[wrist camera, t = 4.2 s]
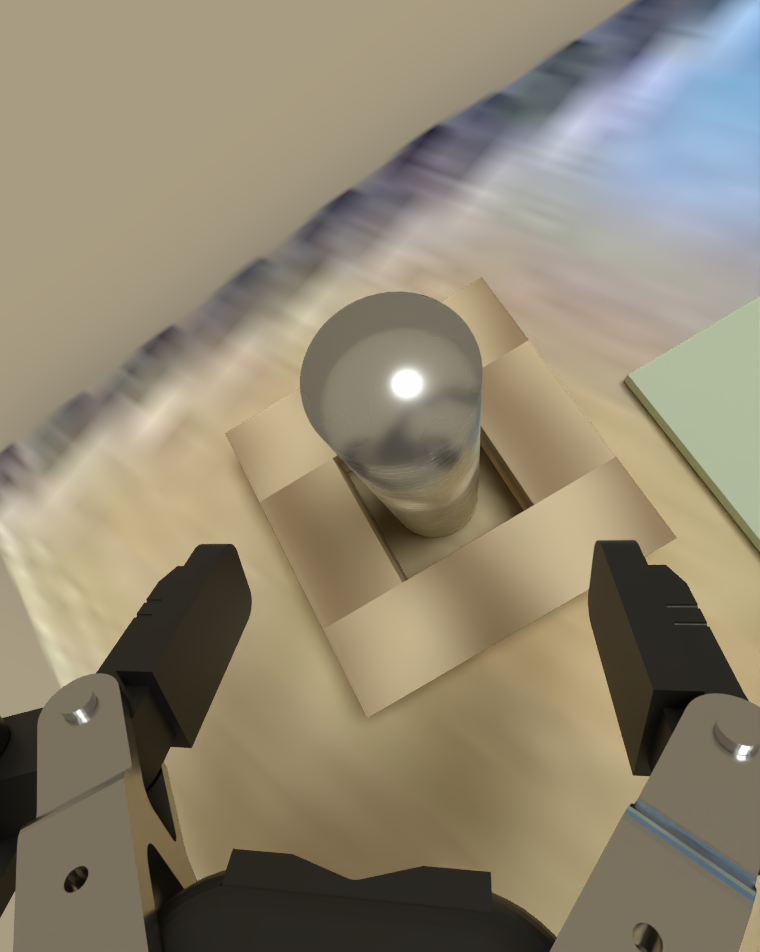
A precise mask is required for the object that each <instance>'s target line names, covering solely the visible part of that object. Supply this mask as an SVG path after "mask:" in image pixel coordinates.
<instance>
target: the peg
mask: <svg viewBox="0 0 760 952" xmlns="http://www.w3.org/2000/svg"><path fill="white" fill-rule="evenodd" d="M482 374H483V367H482V358H481V354H480V350H479V346H478V344H477V341H476V339H475V337H474V335H473V333H472V332H471V330H470V328H469V327H468V325H467V324H466V323H465V322H464V320H463V319H462V318H461V317H460V316H459V315H458V314H457V313H455V312H454V311H453V310H452V309H450V308H449V307H448V306H446V305H445V304H443V303H441V302H439V301H437V300H435V299H433V298H430V297H427V296H424V295H420V294H416V293H409V292H386V293H380V294H375V295H371V296H368V297H365V298H362V299H360V300H357V301H355V302H353V303H351V304H349V305H348V306H346V307H344V308H343V309H341V310H340V311H338V312H337V313H336V314H335V315H333V316H332V317H331V318H330V319H329V320H328V321H327V322H326V323H325V324H324V325H323V326H322V327H321V328H320V330H319V331H318V333H317V334H316V335H315V337H314V338H313V340H312V342H311V344H310V345H309V347H308V350H307V352H306V355H305V357H304V360H303V364H302V369H301V376H300V393H301V399H302V404H303V407H304V410H305V413H306V415H307V417H308V420H309V422H310V423H311V425H312V426H313V428H314V429H315V431H316V432H317V433H318V435H319V436H320V437H321V438H322V439H323V440H324V441H325V442H326V443H327V444H328V445H329V447H330V448H331V449H332V450H333V451H334V452H335V453H336V454H337V455H338V456H339V457H340V458H341V459H342V460H343V461H344V462H345V463H346V465H347V466H348V467H349V468H350V469H351V470H352V471H353V472H354V473H355V474H356V475H357V476H358V477H359V478H360V479H361V480H362V481H363V483H364V484H365V485H366V486H367V487H368V488H369V489H370V490H371V491H372V492H373V493H374V494H375V495H376V496H377V497H378V498H379V499H380V501H381V502H382V503H383V504H384V505H385V506H386V507H387V508H388V509H389V510H390V511H391V512H392V513H393V514H394V515H395V516H396V517H397V519H398V520H399V521H400V522H401V523H402V524H403V525H404V526H405V527H407V528H408V529H409V530H411V531H412V532H414V533H416V534H419V535H422V536H426V537H442V536H447V535H449V534H452V533H454V532H456V531H458V530H459V529H461V528H462V527H463V526H464V525H465V524H466V523H467V522H468V521H469V520H470V518H471V517H472V515H473V513H474V511H475V509H476V506H477V501H478V484H479V457H480V429H481V402H482Z"/></svg>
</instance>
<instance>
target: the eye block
mask: <svg viewBox="0 0 760 952" xmlns="http://www.w3.org/2000/svg"><path fill="white" fill-rule="evenodd" d="M441 303H443V304H445V305H446V306H448V307H449V308H450V309H452V310H453V311H454V312H455V313H457V314H458V315H459V316H460V317H461V318H462V319H463V320H464V322H465V323H466V324H467V325H468V327H469V328H470V330H471V332H472V333H473V335H474V337H475V339H476V341H477V344H478V346H479V350H480V354H481V358H482V367H483V374H482V402H481V429H480V445H481V447H482V448H483V450H484V451H485V453H486V454H487V456H488V457H489V459H490V460H491V462H492V463H493V465H494V466H495V468H496V469H497V471H498V472H499V474H500V475H501V477H502V478H503V480H504V481H505V483H506V484H507V486H508V487H509V489H510V490H511V492H512V493H513V495H514V496H515V498H516V499H517V501H518V502H519V504H520V505H521V507H522V509H523V510H524V511H523V512H521V513H520V514H518V515H516V516H515V517H513V518H511V519H510V520H508V521H506V522H504V523H503V524H501V525H499V526H498V527H496V528H494V529H493V530H491V531H489V532H488V533H486V534H484V535H482V536H481V537H479V538H477V539H476V540H474V541H472V542H471V543H469V544H467V545H465V546H464V547H462V548H460V549H459V550H457V551H455V552H454V553H452V554H450V555H449V556H447V557H445V558H443V559H442V560H440V561H438V562H437V563H435V564H433V565H432V566H430V567H428V568H427V569H425V570H423V571H421V572H420V573H418V574H416V575H415V576H413V577H411V578H410V579H407V578H406V576H405V574H404V572H403V570H402V569H401V567H400V565H399V563H398V562H397V560H396V558H395V556H394V555H393V553H392V551H391V549H390V547H389V546H388V544H387V542H386V540H385V539H384V537H383V535H382V533H381V532H380V530H379V528H378V526H377V524H376V523H375V521H374V519H373V517H372V516H371V514H370V512H369V510H368V509H367V507H366V505H365V503H364V502H363V500H362V498H361V496H360V494H359V493H358V491H357V489H356V487H355V486H354V484H353V482H352V480H351V479H350V477H349V475H348V473H349V472H350V471H352V470H351V469H350V468H349V467H348V466H347V465H346V463H345V462H344V461H343V460H342V459H341V458H340V457H339V456H338V455H337V454H336V453H335V452H334V451H333V450H332V449H331V448H330V447H329V445H328V444H327V443H326V442H325V441H324V440H323V439H322V438H321V437H320V436H319V435H318V433H317V432H316V431H315V429H314V428H313V426H312V425H311V423H310V422H309V420H308V417H307V415H306V413H305V410H304V407H303V404H302V399H301V393H300V388H299V389H297V390H296V391H294V392H292V393H291V394H289V395H287V396H286V397H284V398H282V399H281V400H279V401H278V402H276V403H274V404H273V405H271V406H269V407H268V408H266V409H264V410H263V411H261V412H259V413H258V414H256V415H255V416H253V417H251V418H250V419H248V420H246V421H245V422H243V423H241V424H240V425H238V426H236V427H235V428H233V429H232V430H230V431H228V432H227V433H225V434H226V436H227V438H228V440H229V442H230V444H231V446H232V448H233V450H234V452H235V454H236V456H237V458H238V460H239V462H240V464H241V466H242V468H243V470H244V472H245V474H246V476H247V478H248V480H249V482H250V484H251V486H252V488H253V490H254V492H255V494H256V496H257V498H258V500H259V502H260V504H261V506H262V508H263V510H264V512H265V514H266V516H267V518H268V520H269V522H270V524H271V526H272V528H273V530H274V532H275V534H276V536H277V538H278V540H279V542H280V544H281V546H282V548H283V550H284V552H285V554H286V556H287V558H288V560H289V562H290V564H291V566H292V568H293V570H294V572H295V574H296V576H297V578H298V580H299V582H300V584H301V586H302V588H303V590H304V592H305V594H306V596H307V598H308V600H309V602H310V604H311V606H312V608H313V610H314V612H315V614H316V616H317V618H318V620H319V622H320V624H321V626H322V628H323V631H324V633H325V635H326V637H327V639H328V641H329V643H330V645H331V647H332V649H333V651H334V653H335V655H336V657H337V659H338V661H339V663H340V665H341V667H342V669H343V671H344V673H345V675H346V677H347V679H348V681H349V683H350V685H351V687H352V689H353V691H354V693H355V695H356V697H357V699H358V701H359V703H360V705H361V707H362V709H363V711H364V713H365V715H366V717H367V718H368V717H370V716H372V715H373V714H375V713H377V712H378V711H380V710H382V709H384V708H385V707H387V706H389V705H390V704H392V703H394V702H396V701H397V700H399V699H401V698H403V697H404V696H406V695H408V694H409V693H411V692H413V691H415V690H416V689H418V688H420V687H421V686H423V685H425V684H427V683H428V682H430V681H432V680H433V679H435V678H437V677H439V676H440V675H442V674H444V673H445V672H447V671H449V670H451V669H452V668H454V667H456V666H458V665H459V664H461V663H463V662H464V661H466V660H468V659H470V658H471V657H473V656H475V655H476V654H478V653H480V652H482V651H483V650H485V649H487V648H488V647H490V646H492V645H494V644H495V643H497V642H499V641H500V640H502V639H504V638H506V637H507V636H509V635H511V634H513V633H514V632H516V631H518V630H519V629H521V628H523V627H525V626H526V625H528V624H530V623H531V622H533V621H535V620H537V619H538V618H540V617H542V616H543V615H545V614H547V613H549V612H550V611H552V610H554V609H555V608H557V607H559V606H561V605H562V604H564V603H566V602H568V601H569V600H571V599H573V598H574V597H576V596H578V595H580V594H581V593H583V592H585V591H586V590H588V589H589V585H590V577H591V568H592V560H593V552H594V545H595V542H596V541H597V540H636V541H637V543H638V544H639V546H640V548H641V551H642V553H643V555H644V557H645V556H647V555H648V554H650V553H652V552H653V551H655V550H657V549H659V548H660V547H662V546H664V545H665V544H667V543H669V542H671V541H672V540H674V539H676V538H677V537H676V536H675V535H674V533H673V532H672V531H671V529H670V528H669V527H668V525H667V524H666V523H665V521H664V520H663V519H662V517H661V516H660V515H659V513H658V512H657V511H656V509H655V508H654V507H653V505H652V504H651V503H650V501H649V500H648V499H647V497H646V496H645V495H644V493H643V492H642V491H641V489H640V488H639V487H638V485H637V484H636V483H635V481H634V480H633V479H632V477H631V476H630V475H629V473H628V472H627V471H626V469H625V468H624V467H623V465H622V464H621V463H620V461H619V460H618V459H617V457H616V456H615V455H614V453H613V452H612V451H611V449H610V448H609V446H608V445H607V444H606V442H605V441H604V440H603V438H602V437H601V436H600V434H599V433H598V432H597V430H596V429H595V428H594V426H593V425H592V424H591V422H590V421H589V420H588V418H587V417H586V416H585V414H584V413H583V412H582V410H581V409H580V408H579V406H578V405H577V404H576V402H575V401H574V400H573V398H572V397H571V396H570V394H569V393H568V392H567V390H566V389H565V388H564V386H563V385H562V384H561V382H560V381H559V380H558V378H557V377H556V376H555V374H554V373H553V372H552V370H551V369H550V368H549V366H548V365H547V364H546V362H545V361H544V360H543V358H542V357H541V356H540V354H539V353H538V352H537V350H536V349H535V348H534V346H533V345H532V344H531V342H530V341H529V340H528V338H527V337H526V336H525V334H524V333H523V332H522V330H521V329H520V328H519V326H518V325H517V323H516V322H515V321H514V319H513V318H512V317H511V315H510V314H509V313H508V311H507V310H506V309H505V307H504V306H503V305H502V303H501V302H500V301H499V299H498V298H497V297H496V295H495V294H494V293H493V291H492V290H491V289H490V287H489V286H488V285H487V283H486V282H485V281H484V279H483V278H482V277H481V278H480V279H478V280H476V281H475V282H473V283H471V284H470V285H468V286H466V287H465V288H463V289H462V290H460V291H458V292H457V293H455V294H453V295H452V296H450V297H448V298H447V299H445V300H443V301H442V302H441Z"/></svg>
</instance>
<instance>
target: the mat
mask: <svg viewBox="0 0 760 952" xmlns="http://www.w3.org/2000/svg"><path fill="white" fill-rule="evenodd" d="M624 381H625V383H626V384H627V385H628V387H629V388H630V389H631V390H632V392H633V393H634V394H635V395H636V397H637V398H638V399H639V400H640V402H641V403H642V404H643V405H644V407H645V408H646V409H647V411H648V412H649V413H650V414H651V416H652V417H653V418H654V419H655V421H656V422H657V423H658V424H659V426H660V427H661V428H662V429H663V431H664V432H665V433H666V434H667V436H668V437H669V438H670V440H671V441H672V442H673V443H674V445H675V446H676V447H677V448H678V450H679V451H680V452H681V453H682V455H683V456H684V457H685V458H686V460H687V461H688V462H689V464H690V465H691V466H692V467H693V469H694V470H695V471H696V472H697V474H698V475H699V476H700V477H701V479H702V480H703V481H704V482H705V484H706V485H707V486H708V487H709V489H710V490H711V491H712V493H713V494H714V495H715V496H716V498H717V499H718V500H719V501H720V503H721V504H722V505H723V506H724V508H725V509H726V510H727V511H728V513H729V514H730V515H731V517H732V518H733V519H734V520H735V522H736V523H737V524H738V525H739V527H740V528H741V529H742V530H743V532H744V533H745V534H746V535H747V537H748V538H749V539H750V540H751V542H752V543H753V544H754V546H755V547H756V548H757V549H758V551H759V552H760V296H759V297H758V298H756V299H754V300H752V301H751V302H749V303H747V304H746V305H744V306H742V307H741V308H739V309H737V310H736V311H734V312H732V313H731V314H729V315H727V316H726V317H724V318H722V319H721V320H719V321H717V322H716V323H714V324H712V325H711V326H709V327H707V328H705V329H704V330H702V331H700V332H699V333H697V334H695V335H694V336H692V337H690V338H689V339H687V340H685V341H684V342H682V343H680V344H679V345H677V346H675V347H674V348H672V349H670V350H669V351H667V352H665V353H663V354H662V355H660V356H658V357H657V358H655V359H653V360H652V361H650V362H648V363H647V364H645V365H643V366H642V367H640V368H638V369H637V370H635V371H633V372H632V373H630V374H628V375H627V377H626V378H625V380H624Z"/></svg>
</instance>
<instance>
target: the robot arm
mask: <svg viewBox="0 0 760 952" xmlns="http://www.w3.org/2000/svg"><path fill="white" fill-rule="evenodd" d="M251 604H252V599H251V592H250V589H249V586H248V583H247V580H246V577H245V574H244V571H243V568H242V565H241V562H240V559H239V555H238V552H237V550H236V548H235V547H234V545H232V544H201V545H198V546H197V547H196V548H195V550H194V551H193V553H192V554H191V556H190V557H189V559H188V560H187V562H186V563H185V565H184V566H177V567H176V568H175V569H174V570H172V571H171V572H170V573H169V574H168V575H166V576H165V577H164V578H163V579H162V580H160V581H159V582H158V584H157V585H156V587H155V588H154V590H153V591H152V592H151V594H150V595H149V597H148V598H147V603H144V604H143V606H142V607H141V608H140V610H139V611H138V613H137V617H136V618H134V619H133V620H132V622H131V623H130V625H129V626H128V627H127V629H126V630H125V632H124V633H123V635H122V636H121V638H120V639H119V641H118V642H117V644H116V645H115V646H114V648H113V649H112V651H111V652H110V654H109V655H108V657H107V658H106V660H105V661H104V662H103V664H102V665H101V667H100V668H99V670H98V671H97V673H96V674H90V675H87V676H83V677H81V678H78V679H76V680H74V681H72V682H70V683H69V684H67V685H66V686H64V687H63V688H62V689H60V690H59V691H58V692H57V693H56V694H54V695H53V696H52V697H51V699H50V700H49V701H48V702H47V703H46V705H45V706H44V708H40V709H36V710H32V711H29V712H24V713H20V714H17V715H12V716H9V717H5V718H1V717H0V917H1V915H2V914H3V912H4V910H5V908H6V906H7V904H8V902H9V901H10V899H11V897H12V895H13V893H14V892H16V893H15V918H14V919H15V920H14V947H13V952H738V951H739V948H740V945H741V942H742V939H743V936H744V932H745V929H746V926H747V923H748V920H749V917H750V914H751V911H752V907H753V904H754V900H755V896H756V887H755V883H756V879H757V876H758V875H760V707H758V706H757V705H755V704H753V703H751V702H749V701H748V699H747V697H746V696H745V694H744V692H743V690H742V689H741V687H740V685H739V683H738V681H737V679H736V677H735V675H734V673H733V671H732V669H731V668H730V666H729V664H728V662H727V660H726V658H725V656H724V654H723V652H722V650H721V648H720V646H719V645H718V643H717V641H716V639H715V637H714V635H713V633H712V631H711V629H710V627H707V622H706V620H705V618H704V616H703V614H702V612H701V610H700V609H698V607H697V602H696V601H695V599H694V597H693V595H692V593H691V591H690V589H689V587H688V585H687V583H686V582H685V581H683V580H682V579H681V578H680V577H679V576H678V575H677V574H675V573H674V572H673V571H672V570H671V569H670V568H669V567H667V566H666V565H648V564H647V562H646V559H645V557H644V555H643V553H642V551H641V548H640V546H639V544H638V543H637V541H636V540H597V541H596V542H595V545H594V552H593V560H592V568H591V577H590V585H589V593H588V607H589V616H590V622H591V626H592V630H593V633H594V637H595V640H596V644H597V648H598V651H599V655H600V658H601V662H602V666H603V669H604V673H605V676H606V680H607V684H608V687H609V691H610V694H611V698H612V701H613V705H614V709H615V712H616V716H617V719H618V723H619V727H620V730H621V734H622V737H623V741H624V745H625V748H626V752H627V755H628V759H629V763H630V766H631V770H632V773H633V775H637V776H650V777H649V779H648V781H647V783H646V785H645V787H644V789H643V790H642V792H641V794H640V796H639V798H638V800H637V801H636V802H635V804H631V805H630V806H629V807H628V808H627V810H626V811H625V813H624V814H623V816H622V818H621V820H620V821H619V823H618V825H617V827H616V829H615V831H614V833H613V834H612V836H611V838H610V840H609V842H608V844H607V846H606V847H605V849H604V851H603V853H602V855H601V857H600V859H599V860H598V862H597V864H596V866H595V868H594V870H593V872H592V874H591V875H590V877H589V879H588V881H587V883H586V885H585V887H584V888H583V890H582V892H581V894H580V896H579V898H578V900H577V901H576V903H575V905H574V907H573V909H572V911H571V913H570V915H569V916H568V918H567V920H566V922H565V924H564V926H563V928H562V929H561V931H560V933H559V935H558V937H556V936H555V935H554V934H553V933H552V932H551V931H550V930H549V929H548V928H547V927H546V926H545V925H543V924H542V923H541V922H540V921H539V920H538V919H536V918H535V917H534V916H532V915H531V914H530V913H528V912H527V911H526V910H524V909H523V908H521V907H520V906H518V905H516V904H514V903H513V902H511V901H509V900H508V899H505V898H503V897H501V896H498V895H496V894H494V893H492V891H491V872H483V871H471V870H460V869H449V868H438V867H427V866H422V867H417V868H412V869H408V870H403V871H398V872H394V873H389V874H384V875H380V876H375V877H371V878H366V879H361V880H351V879H348V878H345V877H343V876H341V875H338V874H336V873H334V872H332V871H329V870H327V869H325V868H322V867H320V866H318V865H316V864H313V863H311V862H309V861H307V860H304V859H302V858H300V857H297V856H295V855H293V854H284V853H272V852H261V851H250V850H239V849H233V851H232V854H231V857H230V860H229V863H228V866H227V869H226V870H225V871H221V872H218V873H216V874H213V875H210V876H207V877H205V878H203V879H201V880H199V881H197V880H196V877H195V874H194V872H193V869H192V867H191V865H190V862H189V860H188V857H187V854H186V850H185V846H184V842H183V838H182V833H181V829H180V824H179V820H178V815H177V811H176V806H175V802H174V797H173V793H172V789H171V784H170V780H169V775H168V771H167V767H166V765H165V763H164V759H165V757H166V755H167V753H168V751H169V749H170V747H184V748H192V746H193V744H194V741H195V739H196V737H197V735H198V732H199V730H200V728H201V725H202V723H203V721H204V719H205V716H206V714H207V712H208V710H209V707H210V705H211V703H212V701H213V698H214V696H215V694H216V692H217V689H218V687H219V685H220V682H221V680H222V678H223V676H224V673H225V671H226V669H227V667H228V664H229V662H230V660H231V658H232V655H233V653H234V651H235V649H236V646H237V644H238V642H239V639H240V637H241V635H242V633H243V630H244V628H245V626H246V624H247V621H248V619H249V616H250V612H251Z"/></svg>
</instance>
